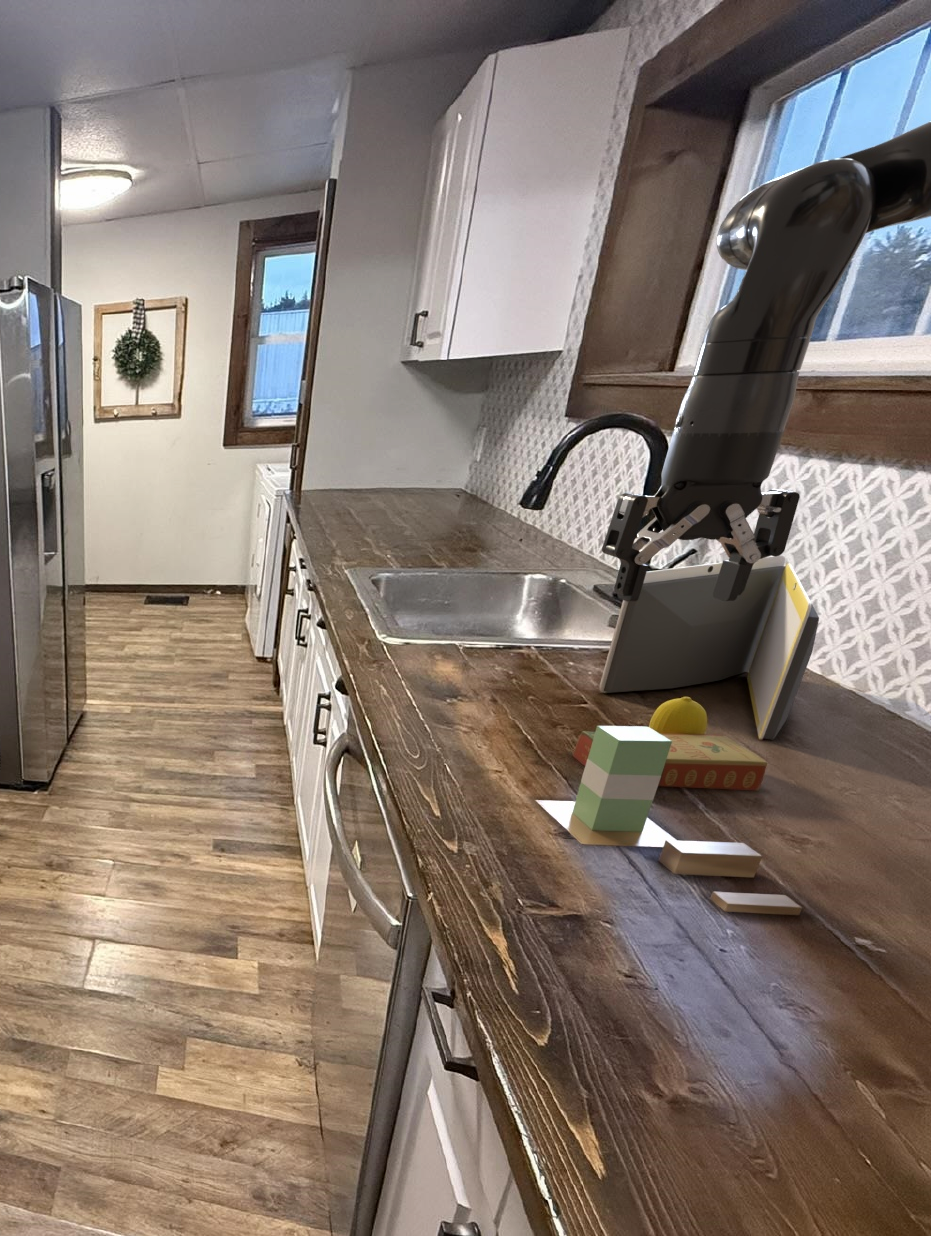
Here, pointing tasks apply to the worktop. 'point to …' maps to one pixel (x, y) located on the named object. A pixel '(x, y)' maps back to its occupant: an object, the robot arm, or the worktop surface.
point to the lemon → (679, 717)
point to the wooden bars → (725, 873)
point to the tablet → (717, 636)
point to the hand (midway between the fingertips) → (674, 599)
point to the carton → (700, 762)
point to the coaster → (586, 836)
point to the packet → (621, 778)
